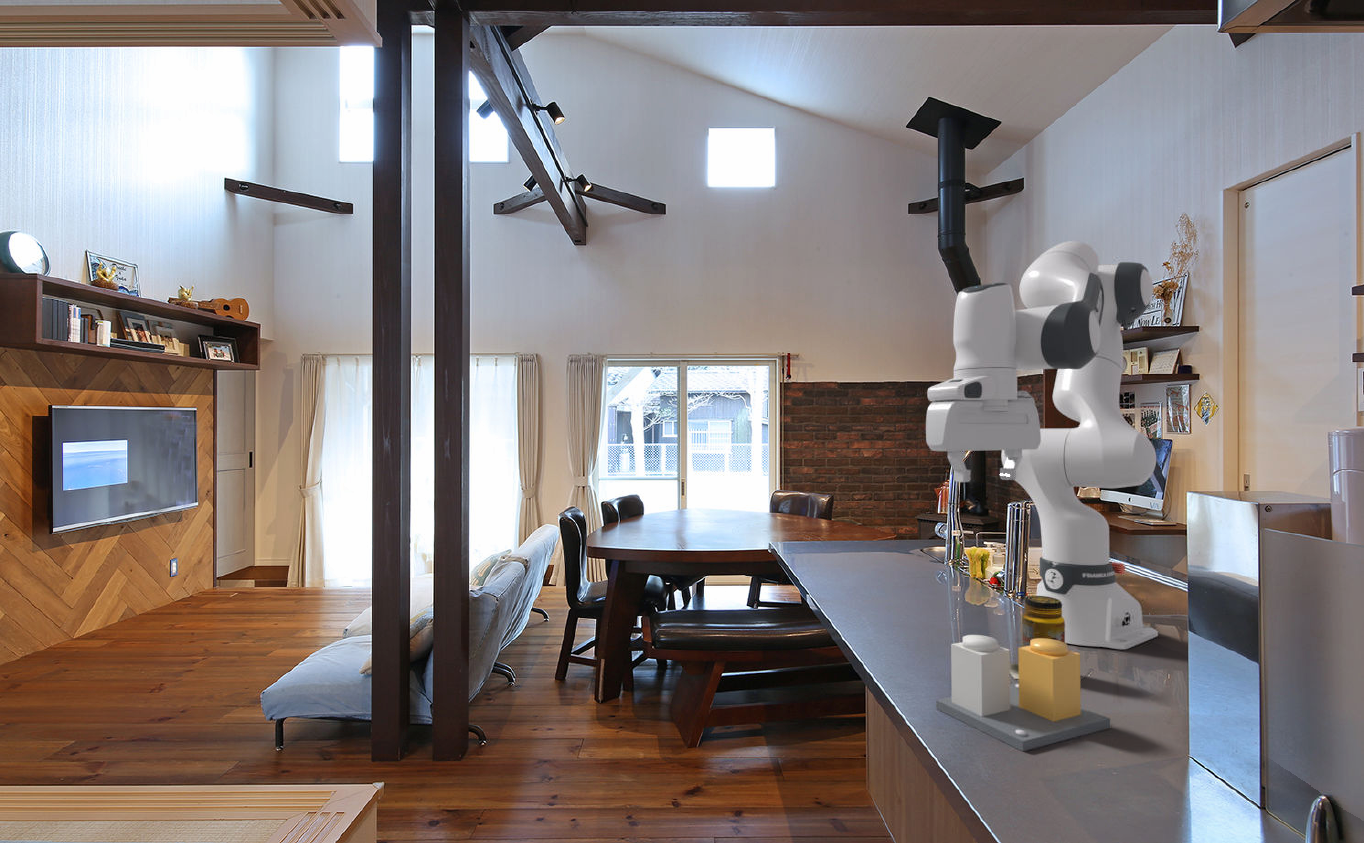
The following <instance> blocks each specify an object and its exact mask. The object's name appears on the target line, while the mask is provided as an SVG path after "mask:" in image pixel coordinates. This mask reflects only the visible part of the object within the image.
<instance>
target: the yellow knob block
mask: <svg viewBox="0 0 1364 843" xmlns="http://www.w3.org/2000/svg"><path fill="white" fill-rule="evenodd" d="M1068 648H1069V646H1068V643H1064V642H1061V641H1058V640H1053V639H1045V638H1036V639H1032V640H1031V641H1030V646H1025V647H1022V646H1021V647H1018V648H1017V649H1018V654H1017V655H1018V664H1019V679H1018V683H1019V707H1020V708H1023V709H1025V710H1028V711H1030V712H1032V713H1035V714H1037V715H1039V716H1042V717H1044V718H1046V719H1049V720H1051V721H1053V722H1054V721H1058V720H1062V719H1066V718H1070V717H1073V716H1077V715H1081V707H1082V706H1081V705H1082V704H1081V701H1082V700H1081V695H1082V694H1081V654H1080V653H1079V652H1075V651H1072V650H1070V649H1068Z"/></svg>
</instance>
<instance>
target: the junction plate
mask: <svg viewBox="0 0 1364 843" xmlns="http://www.w3.org/2000/svg"><path fill="white" fill-rule="evenodd" d="M950 647H951V648H950V652H951V653H950V654H951V655H950V656H951V658H950V659H951V660H950V661H951V664H950V665H951V668H950V670H951V677H950V678H951V679H950V680H951V696H950V697H945V698H940V699H936V701H935V702H936V704H935V705H936V708H935V709H936V710H938V711H940V712H942V713H944V714H946V715H949V716H950V717H952V718H955V719H957V721H960V722H962V723H965V724H967V725H968V726H970V727H972V728H975V729H977V730H978V731H981V732H983V733H984V734H986V735H988V736H991V737H992V738H994V739H996V740H998V741H1001V742H1003V743H1005V744H1007V745H1009V746H1011V747H1013V748H1015V749H1017V750H1019V751H1021V752H1026V751H1029V750H1033V749H1036V748H1040V747H1045V746H1048V745H1051V744H1056V743H1059V742H1063V741H1066V740H1070V739H1074V738H1077V737H1081V736H1085V735H1088V734H1092V733H1095V732H1099V731H1103V730H1106V729H1110V728H1111V718H1109V717H1107V716H1106V715H1102V714H1099V713H1097V712H1094V711H1093V710H1090V709H1087V708H1084V707H1082V706H1081V715H1077V716H1073V717H1070V718H1066V719H1062V720H1058V721H1054V722H1053V721H1051V720H1049V719H1046V718H1044V717H1042V716H1039V715H1037V714H1035V713H1032V712H1030V711H1028V710H1025V709H1023V708H1020V707H1019V682H1016V683H1011V673H1010V663H1011V650H1010V649H1008V648H1005V647H1002V646H1000V645H999V642H998V639H996V638H995V637H991V636H987V635H980V634H967V635H964V636H962V642H960V641H959V642H957V643H956V642H955V643H951V644H950Z"/></svg>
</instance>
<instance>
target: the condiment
mask: <svg viewBox="0 0 1364 843" xmlns="http://www.w3.org/2000/svg"><path fill="white" fill-rule="evenodd" d="M1023 609H1024V612H1023V614H1022V616H1021V622H1022V623H1021V624H1022V626H1021V627H1022V628H1021V629H1022V632H1021V633H1022V638H1021V639H1022V642H1021V643H1022V646H1021V647H1025V646H1030V641H1031V640H1032V639H1036V638H1045V639H1053V640H1058V641H1061V642H1064V643H1065V620H1064V618H1063V617H1062V603H1061V601H1060V600H1059V599H1056V598H1052V597H1047V596H1036V595H1029V596H1027V597H1025V599H1024V608H1023ZM1010 676H1012V678H1013V679H1015V680H1019V663H1014V662H1010Z"/></svg>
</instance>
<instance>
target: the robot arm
mask: <svg viewBox="0 0 1364 843" xmlns="http://www.w3.org/2000/svg"><path fill="white" fill-rule="evenodd" d="M1018 289H1019V296H1020V299H1021V302H1022V304H1023V305H1024V307H1025V308H1024V309H1023V308H1022V309H1015V308H1016V307H1015V302H1014V300H1015V299H1014V294H1013V289H1012V286H1011V284H1009V283H1006V282H993V283H988V284H987V283H986V284H980V285H974V286H968V287H964V288H963V289H962V290H960V291H959V292H958V294H957V297H956V301H955V305H954V306H955V308H954V315H953V331H952V332H953V335H952V337H953V339H952V340H953V342H952V343H953V346H954V350H955V363H954V366H953V378H950V379H947V380H945V381H942V382H940V383H938V384H934V385H932V386H930V387H928V389H927V399H928V401H929V402H931V403H930V404H929V405H928V407H927V410H926V419H925V435H926V436H925V439H926V441H925V442H926V444H927V446H928V447H929V449H930V451H933V452H934V451H935V452H947V459H948V462H949V464H950V466H951V468H952V470H953V480H954V482H955V483H956V482H957V483H968V482H970V481H971V478H972V477H971V472H972V471H971V469H967V467H966V464H965V463H964V459H966V451H969V452H970V451H971V452H973V451H974V452H975V451H978V452H979V451H980V452H981V451H1001V454H1000V455H1001V457H1000V458H1001V464H1002V467H1000V468H999V473H1000V474H999V478H1000V480H1002V481H1015V482H1016V483H1017V484H1019V485H1020V486H1021V487H1022V488H1023V489H1024V490H1025V491H1026V493H1027V494H1028V495H1029V497H1030V498H1031V500H1032V502H1033V504H1034V506H1035V508H1036V511H1037V514H1038V518H1039V524H1040V535H1041V536H1040V537H1041V557H1040V558H1039V563H1038V568H1039V576H1040V578H1041V580H1040V582H1038V583H1037V586H1036V587H1037V588H1036V594H1035V596H1047V597H1052V598H1056V599H1059V600H1060V601H1061V603H1062V617H1063V618H1064V620H1065V643H1066V644H1070V645H1077V646H1085V647H1097V648H1099V647H1102V648H1109V649H1115V650H1128V649H1130V648H1132V647H1133V648H1134V647H1135V646H1138V645H1140V644H1142V643H1145V642H1148V641H1149V640H1152V639H1154V638H1156V637H1158V636H1159V632H1158V630H1157V629H1155V628H1152V627H1151V626H1148V625H1145V624H1143V611H1142V607H1141V606H1142V605H1141V603H1140V602H1139V601H1138V600H1137V599H1135V597H1134V596H1132V595H1131V594H1130V593H1128V592H1127V591H1126V590H1125V589H1124V587H1122V586H1121V585H1119V584H1118V583H1117V581H1118V580H1117V579H1118V578H1117V576H1116V574H1118V575H1123V574H1125V572H1126V566H1125V564H1124V563H1120V562H1115V561H1113V562H1111V561H1110V526H1109V523H1108V521H1107V519H1106V518H1105V516H1104V515H1102V514H1101V513H1100V512H1099V511H1098V510H1095V509H1094V508H1092V507H1091V506H1088V505H1086V504H1084V503H1083V502H1081V500H1080V499H1078V497H1077V495H1076V492H1075V489H1074V488H1075V487H1079V488H1099V489H1100V488H1101V489H1119V488H1127V487H1130V488H1131V487H1136V486H1142V485H1143V484H1145V483H1146V482H1147V481H1148V480H1149V479H1150V477H1151V476H1152V475H1153V473H1154V472H1155V468H1156V465H1157V454H1156V450H1155V447H1154V445H1153V443H1152V441H1150V439H1149V438H1148V437H1147V436H1146V435H1145V434H1144V433H1142V432H1140V431H1139V430H1137V429H1136V428H1134V426H1132V425H1130V424H1129V423H1128V421H1127V420H1126V418H1124V416H1123V414H1122V411H1121V408H1120V407H1121V406H1120V389H1121V381H1122V375H1123V374H1122V373H1123V367H1124V344H1123V335H1122V332H1121V326H1123V328H1124V329H1128V328H1130V327H1132V326H1133V325H1134V322H1135V321H1136V320H1138V318H1140V317H1141V316H1142V315H1143V314H1144V313H1145V312H1146V311H1147V310H1148V308H1149V307H1150V304H1151V301H1152V297H1153V294H1154V283H1153V279H1152V277H1151V275H1150V273H1149V270H1148V268H1147V267H1146V266H1145V265H1143V264H1142V263H1141V262H1140V263H1139V262H1133V261H1131V262H1129V261H1125V262H1119V263H1117V264H1116V263H1115V264H1114V263H1113V264H1101V265H1100V261H1099V256H1098V253H1097V252H1096V250H1095V249H1094V248H1093V247H1092V246H1090V245H1089V244H1087V243H1085V242H1082V241H1078V240H1067V241H1063V242H1060V243H1058V244H1056V245H1054V246H1052V247H1051V248H1049V249H1047V250H1045V251H1044V252H1043V253H1042V254H1040V255H1039V256H1038V257H1037V258H1036V259H1035V260H1034V261H1033V262H1032V263H1031V264H1030V265H1029V266H1028V267H1027V269H1026V270H1025V271H1024V273H1023V275H1022V277H1021V279H1020V283H1019V288H1018ZM1051 369H1055V370H1057V371H1056V376H1055V382H1054V387H1053V392H1052V402H1053V404H1054V407H1055V408H1056V410H1057V411H1059V412H1060V413H1061V414H1062V415H1064V416H1066V417H1067V418H1069V419H1070V420H1073V421H1076V422H1078V423H1079V425H1078V427H1074V428H1073V427H1072V428H1070V427H1069V428H1041V426H1040V425H1041V424H1040V419H1039V418H1040V417H1039V412H1038V409H1037V406H1036V402H1035V399H1034V398H1033V396H1032V395H1031V394H1030V393H1029V392H1028V391H1026V390H1018V371H1020V372H1021V371H1035V370H1036V371H1037V370H1038V371H1039V370H1051ZM1115 573H1116V574H1115Z"/></svg>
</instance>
